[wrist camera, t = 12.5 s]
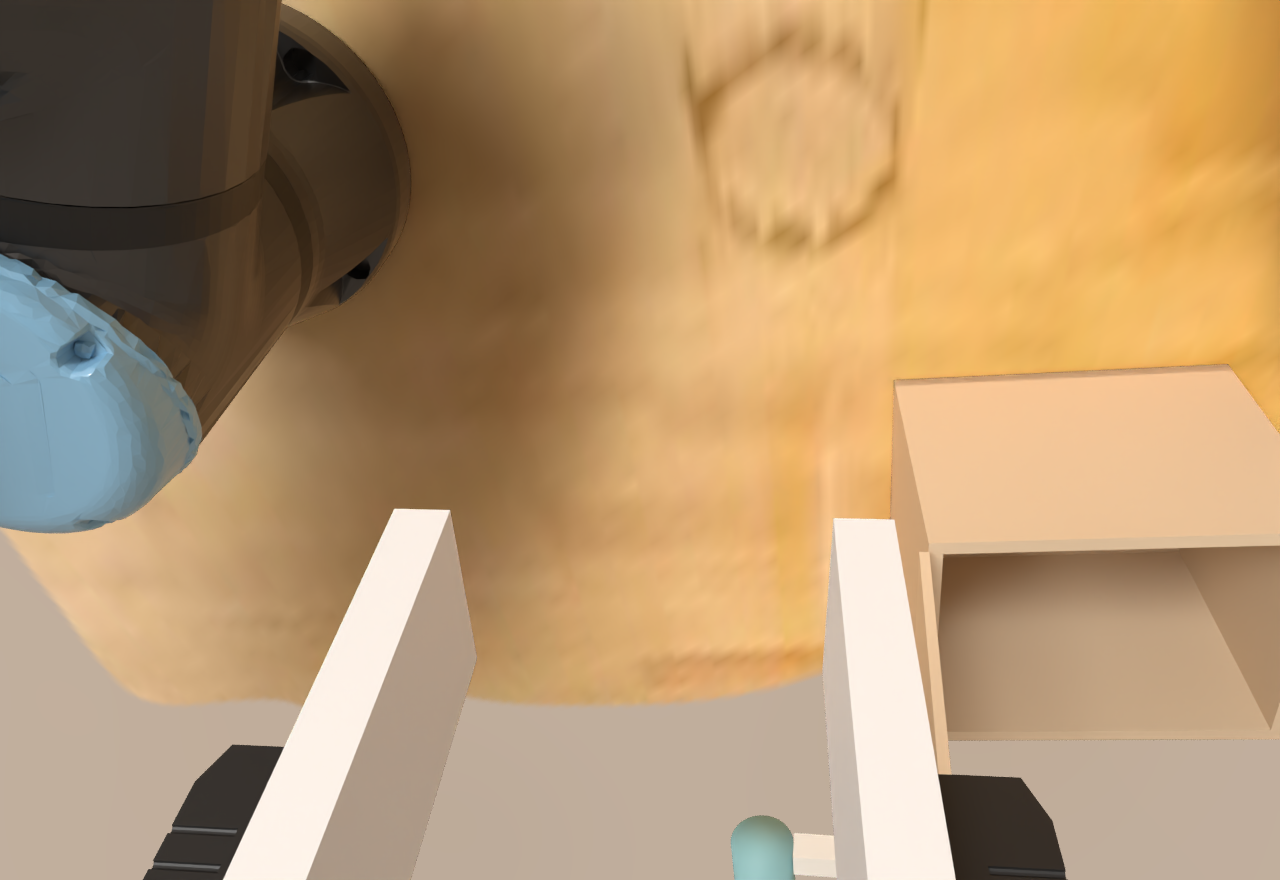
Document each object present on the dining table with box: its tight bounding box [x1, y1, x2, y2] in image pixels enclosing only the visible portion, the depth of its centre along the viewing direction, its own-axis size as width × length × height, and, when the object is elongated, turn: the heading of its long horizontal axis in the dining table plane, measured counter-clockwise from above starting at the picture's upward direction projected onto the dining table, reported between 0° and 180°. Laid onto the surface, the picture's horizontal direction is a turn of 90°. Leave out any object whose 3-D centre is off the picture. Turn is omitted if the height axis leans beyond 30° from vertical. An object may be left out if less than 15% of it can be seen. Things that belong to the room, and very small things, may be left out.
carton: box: [890, 364, 1280, 741], centre depth 51 cm, size 16×12×13 cm
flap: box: [731, 552, 951, 880], centre depth 41 cm, size 15×12×7 cm
